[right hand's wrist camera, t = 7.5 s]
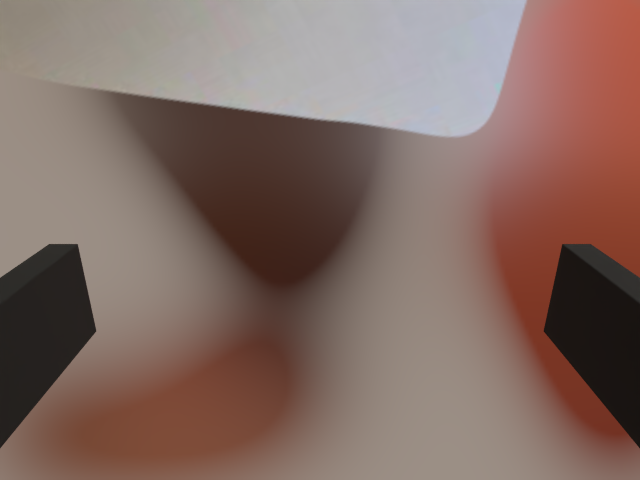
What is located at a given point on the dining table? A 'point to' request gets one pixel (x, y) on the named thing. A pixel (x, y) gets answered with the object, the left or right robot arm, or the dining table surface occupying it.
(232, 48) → the dining table surface
